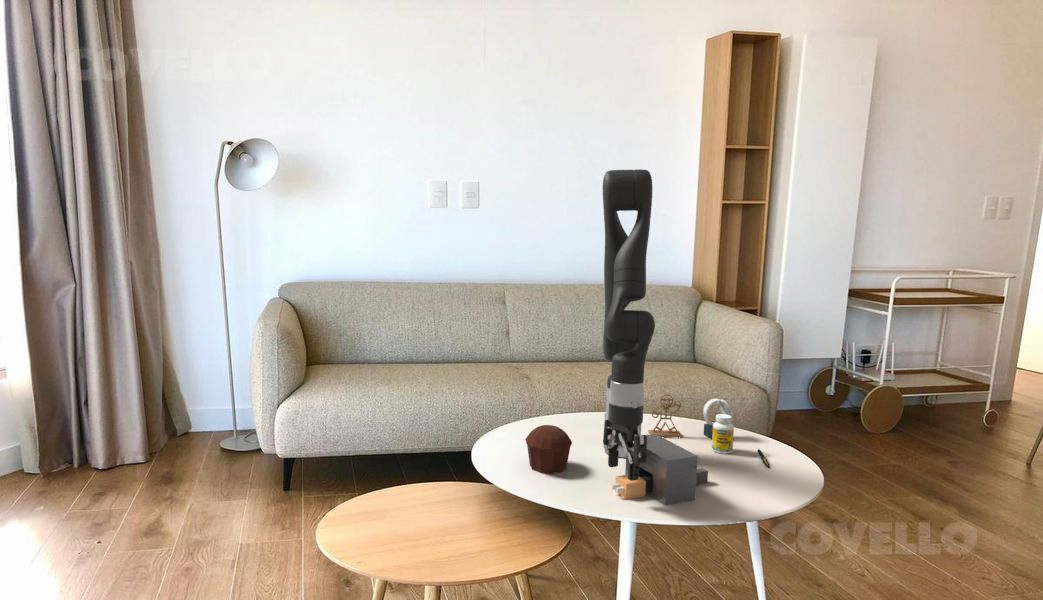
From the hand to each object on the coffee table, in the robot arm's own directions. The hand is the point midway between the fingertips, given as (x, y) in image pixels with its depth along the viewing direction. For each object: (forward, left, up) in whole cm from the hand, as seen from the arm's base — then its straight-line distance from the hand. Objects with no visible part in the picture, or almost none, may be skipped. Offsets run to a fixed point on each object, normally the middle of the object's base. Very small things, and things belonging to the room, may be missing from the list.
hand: (622, 473), depth 152 cm
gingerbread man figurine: (-32, +34, -5) cm, 47 cm away
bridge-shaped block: (0, +10, -5) cm, 11 cm away
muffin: (-21, -8, -5) cm, 23 cm away
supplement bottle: (-16, +41, -5) cm, 44 cm away
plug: (0, +11, -5) cm, 12 cm away
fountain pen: (-8, +47, -6) cm, 48 cm away
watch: (-26, +47, -5) cm, 54 cm away
